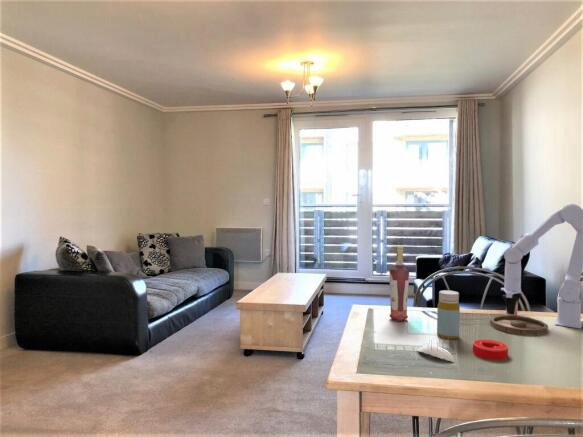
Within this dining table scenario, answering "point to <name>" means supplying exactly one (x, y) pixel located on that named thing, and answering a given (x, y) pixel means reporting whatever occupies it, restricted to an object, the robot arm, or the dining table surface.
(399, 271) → the liquor
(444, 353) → the pincushion
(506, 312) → the bead
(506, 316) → the groove tray
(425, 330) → the dining table surface
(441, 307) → the bottle
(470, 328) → the dining table surface
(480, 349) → the decorative ornament
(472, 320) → the dining table surface
